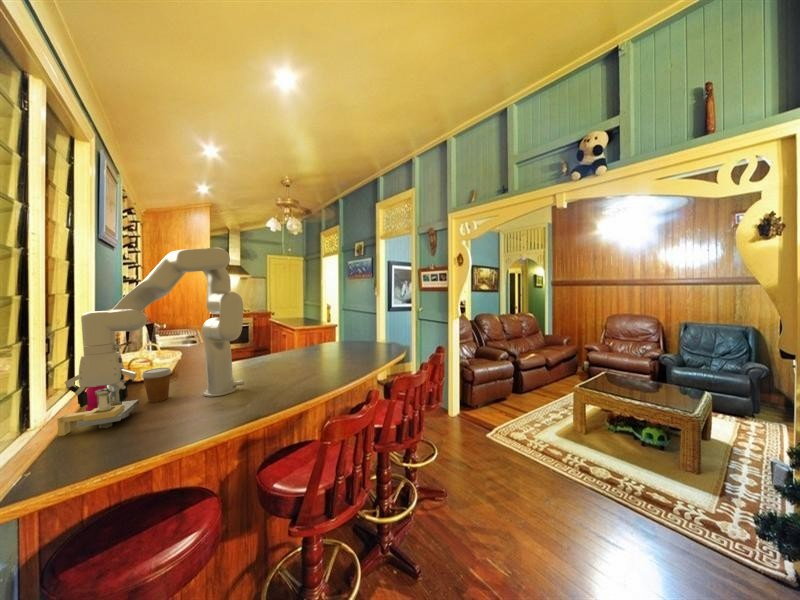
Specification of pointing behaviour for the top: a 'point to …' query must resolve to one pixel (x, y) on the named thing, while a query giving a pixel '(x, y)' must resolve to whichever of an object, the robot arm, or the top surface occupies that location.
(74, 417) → the bracket
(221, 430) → the top surface
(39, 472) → the top surface
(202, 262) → the robot arm
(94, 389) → the pepper mill
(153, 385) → the disposable coffee cup
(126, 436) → the top surface
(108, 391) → the steel pin
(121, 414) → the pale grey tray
